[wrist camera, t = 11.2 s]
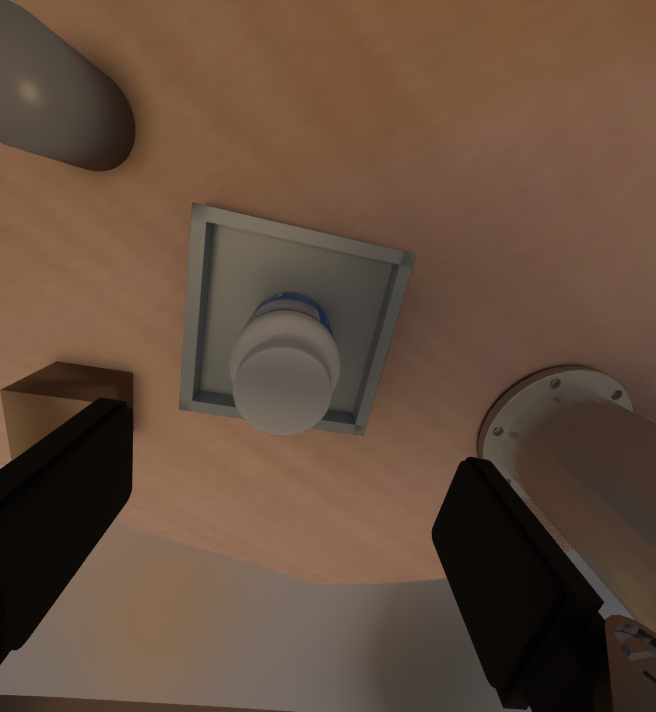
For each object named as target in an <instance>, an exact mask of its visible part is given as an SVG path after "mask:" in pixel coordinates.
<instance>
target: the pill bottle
mask: <svg viewBox="0 0 656 712" xmlns="http://www.w3.org/2000/svg"><path fill="white" fill-rule="evenodd" d="M229 369H230V376H231V380H232V382H233V398H234V402H235V405H236V408H237V410H238V411H239V413H240V414H241V416H242V417H243V419H244V420H245V421H246V422H247V423H249V424H250V425H251V426H253V427H254V428H256V429H258V430H260V431H262V432H264V433H268V434H272V435H277V436H288V435H294V434H298V433H301V432H304V431H306V430H308V429H310V428H312V427H313V426H314V425H316V424H317V423H318V422H319V421H320V420H321V419H322V418H323V417H324V415H325V413H326V412H327V410H328V408H329V405H330V403H331V399H332V393H333V391H334V390H335V388H336V386H337V383H338V380H339V377H340V370H341V362H340V355H339V351H338V348H337V345H336V342H335V339H334V336H333V333H332V330H331V327H330V324H329V321H328V318H327V316H326V314H325V313H324V311H323V310H322V308H321V307H320V306H319V305H318V304H317V303H316V302H315V301H313V300H312V299H310V298H309V297H307V296H304V295H302V294H298V293H292V292H285V293H279V294H276V295H273V296H271V297H269V298H267V299H266V300H264V301H263V302H262V303H261V304H260V305H259V306H258V307H257V308H256V310H255V311H254V312H253V314H252V316H251V317H250V319H249V320H248V322H247V323H246V325H245V326H244V328H243V329H242V331H241V332H240V334H239V335H238V337H237V339H236V341H235V343H234V345H233V347H232V350H231V354H230V360H229Z"/></svg>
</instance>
